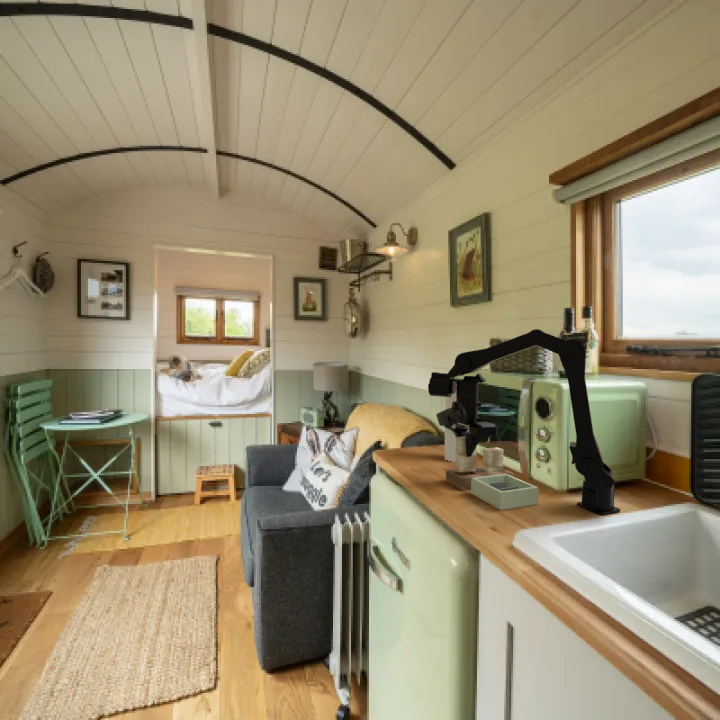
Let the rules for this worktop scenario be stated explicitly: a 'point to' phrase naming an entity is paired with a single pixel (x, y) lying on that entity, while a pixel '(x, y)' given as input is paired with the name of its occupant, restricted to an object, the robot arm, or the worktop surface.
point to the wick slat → (493, 459)
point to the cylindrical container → (450, 434)
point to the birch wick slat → (464, 457)
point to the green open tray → (504, 491)
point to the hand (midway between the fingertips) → (465, 455)
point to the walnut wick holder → (469, 476)
